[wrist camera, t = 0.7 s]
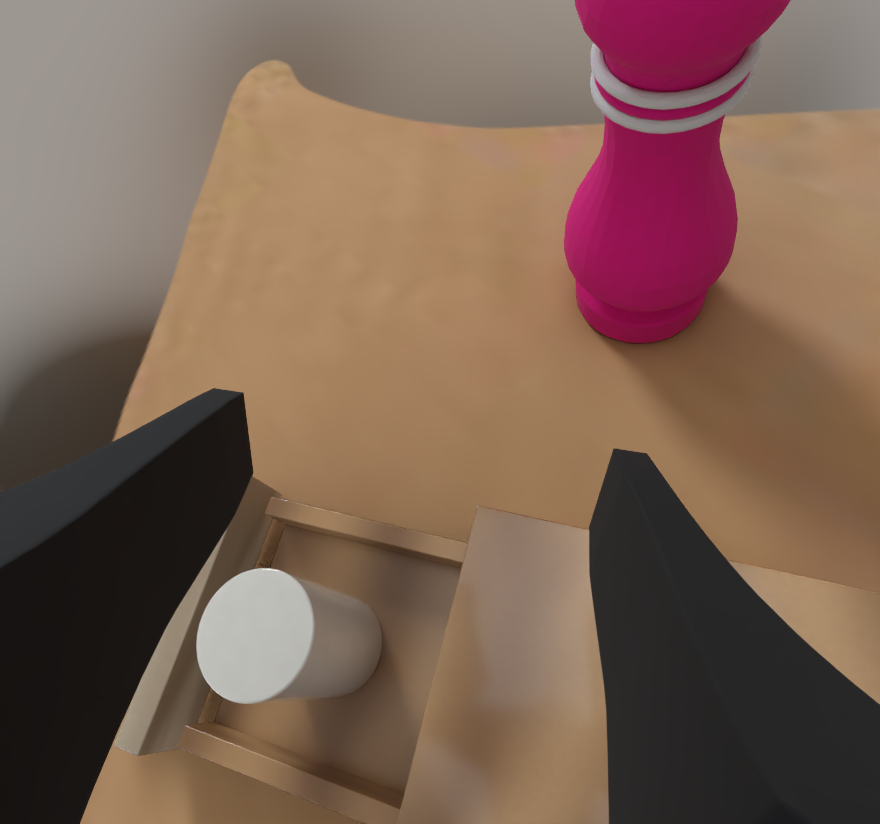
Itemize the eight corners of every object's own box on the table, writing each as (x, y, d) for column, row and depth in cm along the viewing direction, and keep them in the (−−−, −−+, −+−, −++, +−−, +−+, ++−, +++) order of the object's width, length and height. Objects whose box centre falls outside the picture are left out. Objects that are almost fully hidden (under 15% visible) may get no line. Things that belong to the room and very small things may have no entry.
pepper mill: (585, 226, 33) (586, -307, 15) (727, 243, 31) (925, -361, 13) (550, 338, 31) (503, -133, 13) (700, 366, 28) (897, -161, 11)
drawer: (86, 706, 27) (26, 710, 24) (187, 471, 31) (146, 450, 28) (462, 858, 22) (444, 886, 19) (529, 552, 26) (522, 536, 23)
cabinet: (418, 852, 23) (378, 894, 19) (494, 533, 27) (477, 505, 23) (853, 1030, 19) (939, 1143, 14) (864, 618, 23) (933, 603, 18)
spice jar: (365, 710, 24) (286, 722, 17) (278, 680, 25) (175, 681, 19) (394, 607, 25) (331, 584, 19) (310, 584, 26) (224, 554, 20)
